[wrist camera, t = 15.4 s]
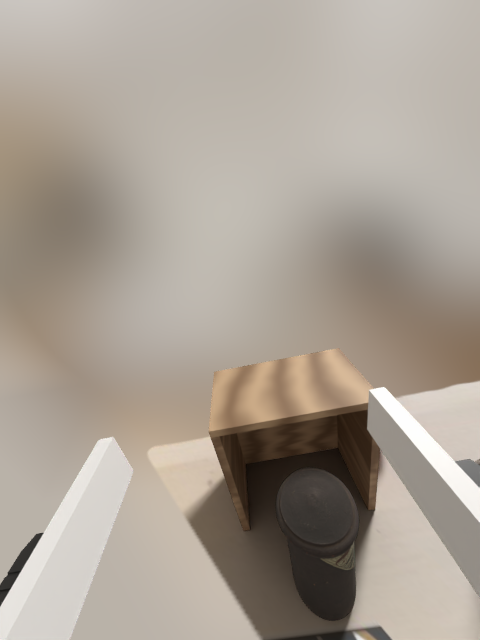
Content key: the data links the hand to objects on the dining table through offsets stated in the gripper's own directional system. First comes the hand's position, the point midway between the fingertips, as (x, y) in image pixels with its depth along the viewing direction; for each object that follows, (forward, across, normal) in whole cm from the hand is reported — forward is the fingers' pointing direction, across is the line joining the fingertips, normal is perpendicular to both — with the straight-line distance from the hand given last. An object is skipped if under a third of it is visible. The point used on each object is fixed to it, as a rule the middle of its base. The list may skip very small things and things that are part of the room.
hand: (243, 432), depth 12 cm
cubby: (+20, +5, -40) cm, 45 cm away
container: (+7, +5, -40) cm, 41 cm away
